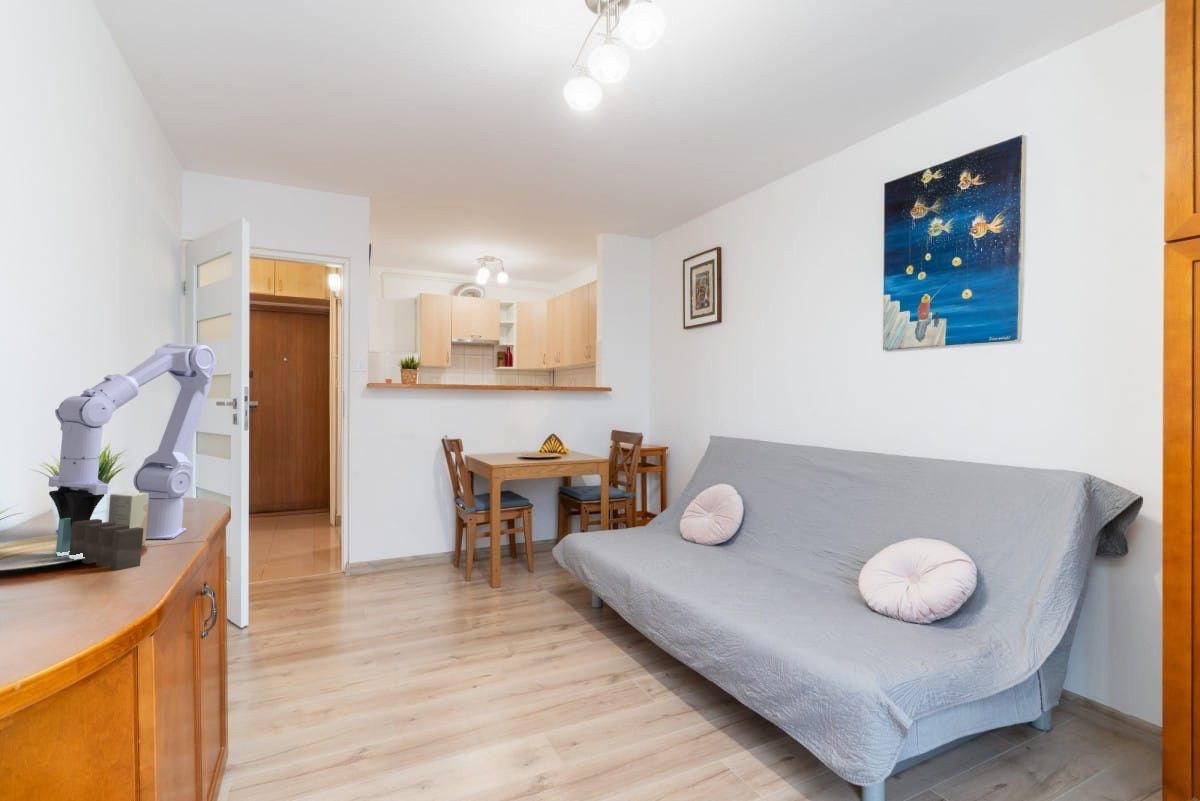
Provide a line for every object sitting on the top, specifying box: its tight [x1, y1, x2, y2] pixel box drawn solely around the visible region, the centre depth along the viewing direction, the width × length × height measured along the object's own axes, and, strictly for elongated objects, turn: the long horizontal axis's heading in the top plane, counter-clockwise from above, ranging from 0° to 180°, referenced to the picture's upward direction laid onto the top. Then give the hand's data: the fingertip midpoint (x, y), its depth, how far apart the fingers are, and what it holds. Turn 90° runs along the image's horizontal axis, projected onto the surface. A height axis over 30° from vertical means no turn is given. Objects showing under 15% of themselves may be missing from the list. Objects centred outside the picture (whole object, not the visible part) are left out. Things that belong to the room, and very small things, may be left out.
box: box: [107, 491, 149, 547], centre depth 119 cm, size 5×4×11 cm
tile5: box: [109, 527, 144, 572], centre depth 106 cm, size 2×4×7 cm, turn 160°
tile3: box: [81, 521, 116, 564], centre depth 109 cm, size 2×4×7 cm, turn 161°
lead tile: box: [55, 518, 72, 553], centre depth 111 cm, size 2×4×7 cm, turn 160°
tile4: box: [95, 524, 129, 568], centre depth 107 cm, size 2×4×7 cm, turn 161°
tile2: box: [69, 518, 103, 555], centre depth 110 cm, size 2×4×7 cm, turn 160°
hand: (74, 527), depth 111 cm, fingers open, 3 cm apart
